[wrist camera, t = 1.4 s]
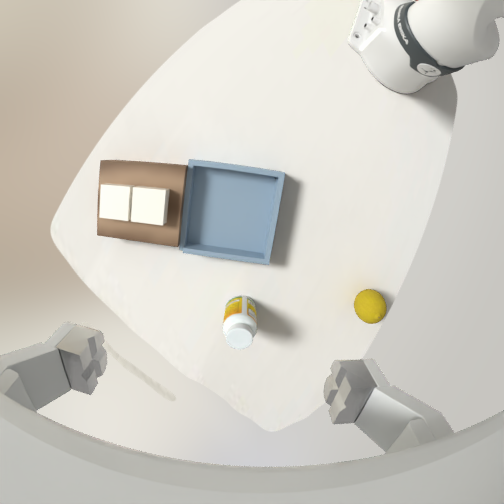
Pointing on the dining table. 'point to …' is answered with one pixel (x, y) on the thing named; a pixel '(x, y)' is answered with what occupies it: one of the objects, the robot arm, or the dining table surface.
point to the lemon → (370, 306)
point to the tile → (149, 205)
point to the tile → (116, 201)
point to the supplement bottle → (240, 322)
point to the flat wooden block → (149, 177)
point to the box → (230, 211)
